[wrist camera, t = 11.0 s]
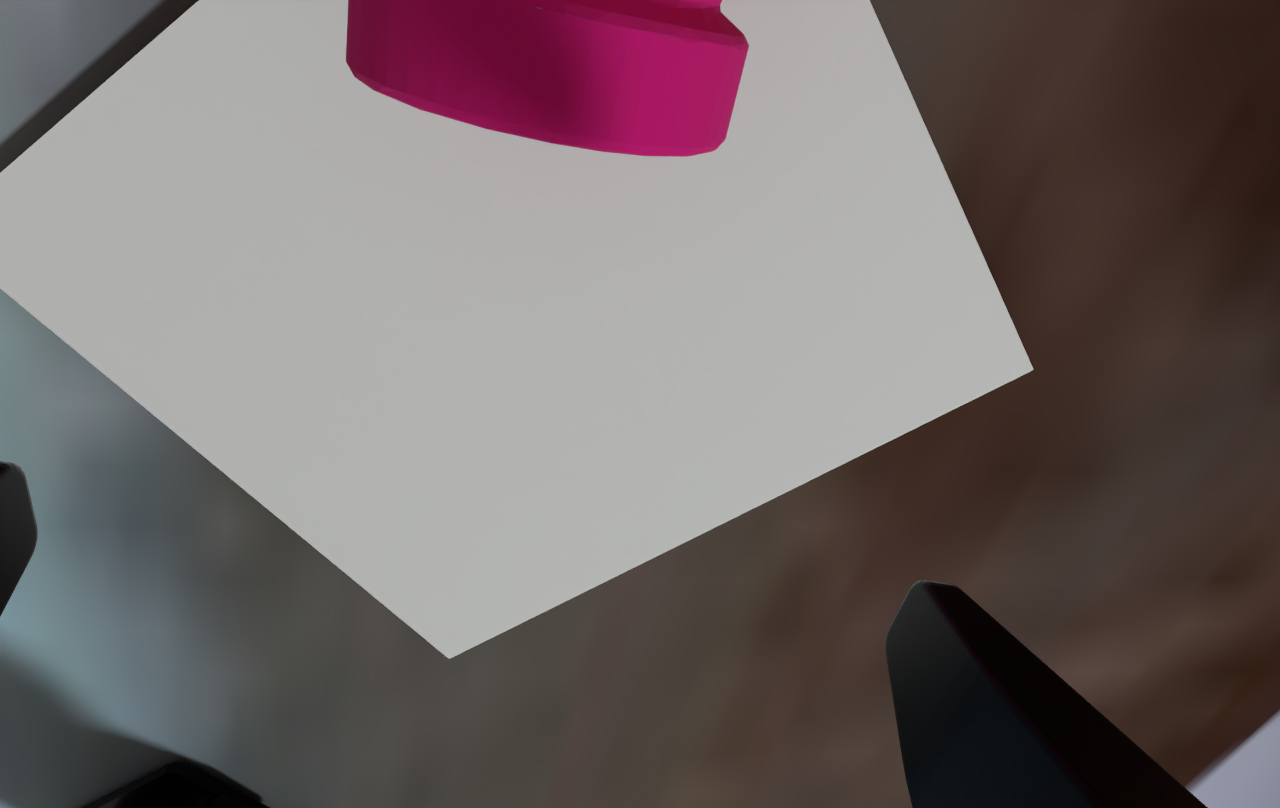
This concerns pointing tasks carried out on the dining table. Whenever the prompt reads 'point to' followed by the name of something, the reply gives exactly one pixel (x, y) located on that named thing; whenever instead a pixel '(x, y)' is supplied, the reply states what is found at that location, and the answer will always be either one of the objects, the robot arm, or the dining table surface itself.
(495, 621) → the grey mat
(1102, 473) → the dining table surface
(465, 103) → the pepper mill
